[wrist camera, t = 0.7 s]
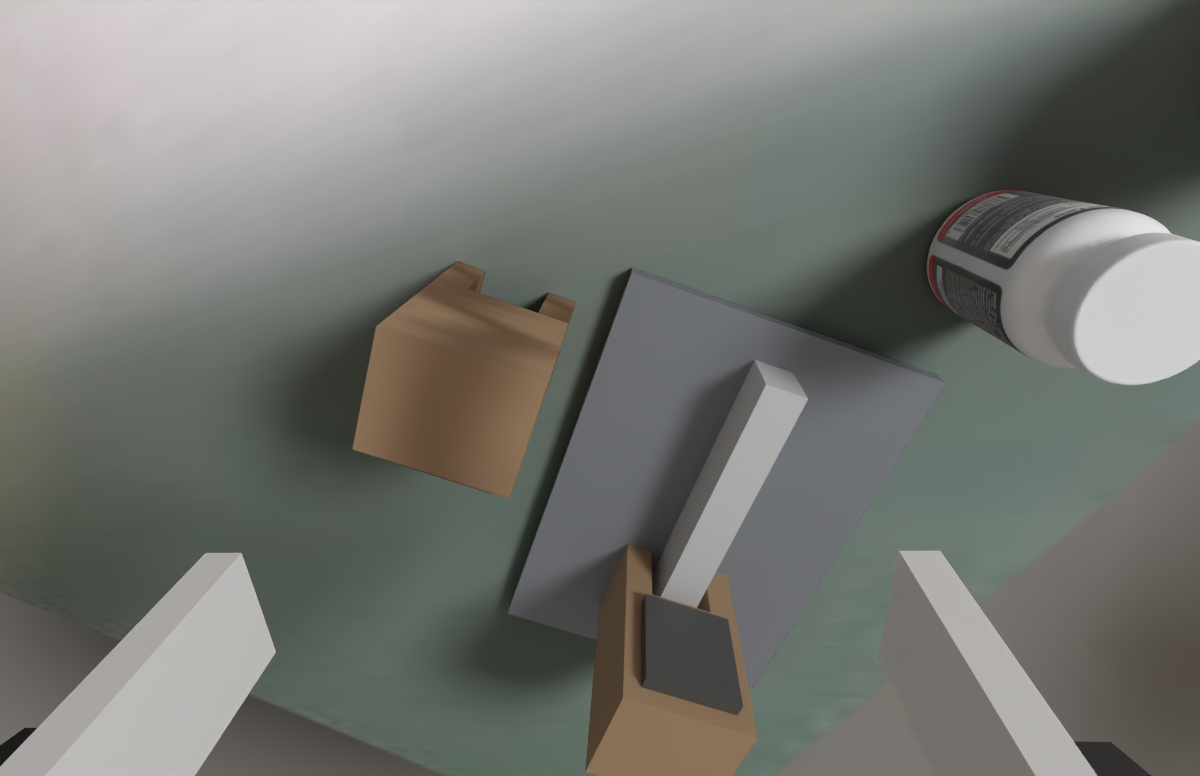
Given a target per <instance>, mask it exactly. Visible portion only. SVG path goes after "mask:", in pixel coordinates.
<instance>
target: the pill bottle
mask: <svg viewBox="0 0 1200 776" xmlns="http://www.w3.org/2000/svg"><path fill="white" fill-rule="evenodd" d="M927 275H928V280H929V283H930V286H931V288H932V290H933V292H934V294H935V295H936V297H937V298H938V299H939V301H940V302H941V303H942V304H943V305H945V306H946V307H947V308H948V309H949V310H951V311H953V312H954V313H956V314H958V315H960V316H961V317H963V318H964V319H966V320H968V321H969V322H971V323H973V324H974V325H976V326H978V327H979V328H981V329H983V330H984V331H986V332H988V333H989V334H991V335H993V336H994V337H996V338H998V339H999V340H1001V341H1003V342H1004V343H1006V344H1008V345H1009V346H1011V347H1013V348H1014V349H1016V350H1018V351H1019V352H1021V353H1022V354H1024V355H1026V356H1028V357H1029V358H1032V359H1034V360H1036V361H1038V362H1040V363H1043V364H1046V365H1049V366H1053V367H1059V368H1069V369H1075V368H1079V369H1081V370H1083V371H1085V372H1087V373H1089V374H1091V375H1093V376H1095V377H1097V378H1099V379H1101V380H1104V381H1107V382H1110V383H1115V384H1122V385H1140V384H1146V383H1152V382H1155V381H1159V380H1162V379H1166V378H1169V377H1171V376H1173V375H1175V374H1177V373H1179V372H1181V371H1183V370H1185V369H1187V368H1188V367H1190V366H1191V365H1193V364H1195V363H1196V362H1197V361H1198V360H1200V242H1198V241H1194V240H1191V239H1187V238H1184V237H1181V236H1178V235H1173V234H1171V233H1170V232H1169V231H1168V230H1167V229H1166V228H1165V227H1164V226H1163V225H1162V224H1161V223H1159V222H1158V221H1156V220H1154V219H1153V218H1150V217H1148V216H1146V215H1143V214H1140V213H1137V212H1133V211H1129V210H1125V209H1121V208H1114V207H1109V206H1104V205H1098V204H1092V203H1086V202H1081V201H1075V200H1070V199H1065V198H1059V197H1054V196H1048V195H1043V194H1038V193H1032V192H1027V191H1020V190H1001V191H995V192H990V193H987V194H984V195H981V196H979V197H976V198H974V199H972V200H970V201H968V202H967V203H965V204H964V205H962V206H961V207H959V208H958V209H957V210H956V211H954V212H953V213H952V214H951V215H950V216H949V217H948V218H947V219H946V221H945V222H944V223H943V224H942V226H941V227H940V229H939V230H938V232H937V233H936V235H935V237H934V239H933V241H932V244H931V246H930V249H929V253H928V258H927Z"/></svg>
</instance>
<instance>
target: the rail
mask: <svg viewBox="0 0 1200 776" xmlns="http://www.w3.org/2000/svg"><path fill="white" fill-rule="evenodd" d="M945 384H946V382H945V381H943V380H942V379H941V378H940V377H939V376H938V375H936V374H933V373H930V372H927V371H924V370H922V369H919V368H916V367H913V366H910V365H907V364H905V363H902V362H899V361H896V360H893V359H890V358H887V357H885V356H882V355H879V354H876V353H873V352H870V351H868V350H865V349H862V348H859V347H856V346H853V345H850V344H848V343H845V342H842V341H839V340H836V339H833V338H831V337H828V336H825V335H822V334H819V333H816V332H814V331H811V330H808V329H805V328H802V327H799V326H796V325H794V324H791V323H788V322H785V321H782V320H779V319H777V318H774V317H771V316H768V315H765V314H762V313H759V312H757V311H754V310H751V309H748V308H745V307H742V306H740V305H737V304H734V303H731V302H728V301H725V300H723V299H720V298H717V297H714V296H711V295H708V294H705V293H703V292H700V291H697V290H694V289H691V288H688V287H686V286H683V285H680V284H677V283H674V282H671V281H668V280H666V279H663V278H660V277H657V276H654V275H651V274H649V273H646V272H643V271H640V270H637V269H634V268H632V269H631V272H630V275H629V278H628V280H627V283H626V286H625V289H624V291H623V294H622V297H621V300H620V302H619V305H618V308H617V311H616V313H615V316H614V319H613V322H612V324H611V327H610V330H609V333H608V335H607V338H606V341H605V344H604V346H603V349H602V352H601V355H600V357H599V360H598V363H597V366H596V368H595V371H594V374H593V377H592V379H591V382H590V385H589V388H588V390H587V393H586V396H585V399H584V401H583V404H582V407H581V410H580V412H579V415H578V418H577V421H576V423H575V426H574V429H573V432H572V434H571V437H570V440H569V443H568V445H567V448H566V451H565V454H564V456H563V459H562V462H561V465H560V467H559V470H558V473H557V476H556V478H555V481H554V484H553V487H552V489H551V492H550V495H549V498H548V500H547V503H546V506H545V509H544V511H543V514H542V517H541V520H540V522H539V525H538V528H537V531H536V533H535V536H534V539H533V542H532V544H531V547H530V550H529V553H528V555H527V558H526V561H525V564H524V566H523V569H522V572H521V575H520V577H519V580H518V583H517V586H516V588H515V591H514V594H513V597H512V600H511V602H510V606H509V610H508V614H510V615H513V616H517V617H520V618H523V619H527V620H530V621H533V622H537V623H540V624H543V625H547V626H550V627H553V628H557V629H560V630H563V631H567V632H570V633H573V634H577V635H580V636H583V637H587V638H590V639H593V640H596V652H595V664H594V676H593V688H592V699H591V711H590V723H589V735H588V747H587V758H586V770H585V772H587V773H590V774H594V775H597V776H733V774H734V773H735V771H736V770H737V768H738V767H739V765H740V764H741V762H742V761H743V759H744V758H745V756H746V755H747V753H748V752H749V750H750V749H751V747H752V746H753V744H754V743H755V741H756V740H757V738H758V736H757V730H756V725H755V720H754V714H753V709H752V704H751V698H750V693H749V688H748V686H749V687H753V688H754V687H755V685H756V683H757V682H758V680H759V679H760V677H761V675H762V674H763V672H764V671H765V669H766V668H767V666H768V664H769V663H770V661H771V660H772V658H773V656H774V655H775V653H776V652H777V650H778V649H779V647H780V645H781V644H782V642H783V641H784V639H785V637H786V636H787V634H788V633H789V631H790V630H791V628H792V626H793V625H794V623H795V622H796V620H797V618H798V617H799V615H800V614H801V612H802V611H803V609H804V607H805V606H806V604H807V603H808V601H809V599H810V598H811V596H812V595H813V593H814V592H815V590H816V588H817V587H818V585H819V584H820V582H821V581H822V579H823V577H824V576H825V574H826V573H827V571H828V569H829V568H830V566H831V565H832V563H833V562H834V560H835V558H836V557H837V555H838V554H839V552H840V550H841V549H842V547H843V546H844V544H845V543H846V541H847V539H848V538H849V536H850V535H851V533H852V531H853V530H854V528H855V527H856V525H857V524H858V522H859V520H860V519H861V517H862V516H863V514H864V512H865V511H866V509H867V508H868V506H869V505H870V503H871V501H872V500H873V498H874V497H875V495H876V493H877V492H878V490H879V489H880V487H881V486H882V484H883V482H884V481H885V479H886V478H887V476H888V474H889V473H890V471H891V470H892V468H893V467H894V465H895V463H896V462H897V460H898V459H899V457H900V455H901V454H902V452H903V451H904V449H905V448H906V446H907V444H908V443H909V441H910V440H911V438H912V436H913V435H914V433H915V432H916V430H917V429H918V427H919V425H920V424H921V422H922V421H923V419H924V418H925V416H926V414H927V413H928V411H929V410H930V408H931V406H932V405H933V403H934V402H935V400H936V399H937V397H938V395H939V394H940V392H941V391H942V389H943V387H944V386H945Z"/></svg>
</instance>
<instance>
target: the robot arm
mask: <svg viewBox="0 0 1200 776" xmlns="http://www.w3.org/2000/svg"><path fill="white" fill-rule="evenodd" d="M275 653H276V651H275V648H274V645H273V642H272V639H271V636H270V634H269V631H268V628H267V625H266V622H265V619H264V616H263V613H262V610H261V608H260V605H259V602H258V599H257V596H256V593H255V590H254V587H253V585H252V582H251V579H250V576H249V573H248V570H247V567H246V564H245V561H244V559H243V556H242V553H205V554H204V555H203V556H202V557H201V558H200V559H199V561H198V562H197V563H196V564H195V565H194V566H193V567H192V568H191V569H190V570H189V571H188V572H187V573H186V574H185V575H184V576H183V577H182V578H181V579H180V580H179V581H178V582H177V583H176V584H175V585H174V586H173V588H172V589H171V590H170V591H169V592H168V593H167V594H166V595H165V596H164V597H163V598H162V599H161V600H160V601H159V602H158V603H157V604H156V605H155V606H154V607H153V608H152V609H151V610H150V611H149V612H148V614H147V615H146V616H145V617H144V618H143V619H142V620H141V621H140V622H139V623H138V624H137V625H136V626H135V627H134V628H133V629H132V630H131V631H130V632H129V633H128V634H127V635H126V636H125V637H124V638H123V640H122V641H121V642H120V643H119V644H118V645H117V646H116V647H115V648H114V649H113V650H112V651H111V652H110V653H109V654H108V655H107V656H106V657H105V658H104V659H103V660H102V661H101V662H100V663H99V665H98V666H97V667H96V668H95V669H94V670H93V671H92V672H91V673H90V674H89V675H88V676H87V677H86V678H85V679H84V680H83V681H82V682H81V683H80V684H79V685H78V686H77V688H75V689H74V691H73V692H72V693H71V694H70V695H69V696H68V697H67V698H66V699H65V700H64V701H63V702H62V703H61V704H60V705H59V706H58V707H57V708H56V709H55V710H54V711H53V712H52V713H51V714H50V715H49V717H48V718H47V719H46V720H45V721H44V722H43V723H42V724H41V725H40V726H39V727H38V728H24V729H23V730H21V731H20V732H19V733H17V734H16V735H14V736H13V737H11V738H10V739H9V740H7V741H6V742H5V743H3V744H2V745H0V776H195V775H196V773H197V772H198V770H199V768H200V767H201V765H202V764H203V762H204V761H205V759H206V758H207V756H208V755H209V753H210V752H211V750H212V749H213V747H214V746H215V744H216V743H217V741H218V740H219V738H220V737H221V735H222V734H223V732H224V730H225V729H226V727H227V726H228V724H229V723H230V721H231V720H232V718H233V717H234V715H235V714H236V712H237V711H238V709H239V707H240V706H241V705H242V703H243V702H244V700H245V698H246V697H247V695H248V694H249V692H250V691H251V689H252V688H253V686H254V685H255V683H256V682H257V680H258V679H259V677H260V676H261V674H262V673H263V671H264V670H265V668H266V667H267V665H268V663H269V662H270V660H271V659H272V657H273V656H274V654H275ZM879 658H880V660H881V662H882V665H883V667H884V669H885V671H886V674H887V676H888V678H889V680H890V682H891V685H892V687H893V689H894V691H895V693H896V696H897V698H898V700H899V702H900V705H901V707H902V709H903V711H904V713H905V716H906V718H907V720H908V722H909V724H910V726H911V729H912V731H913V733H914V735H915V738H916V740H917V742H918V744H919V747H920V749H921V751H922V753H923V755H924V757H925V760H926V762H927V764H928V766H929V769H930V771H931V773H932V775H933V776H1151V775H1150V774H1148V773H1147V772H1146V771H1145V770H1144V769H1142V768H1141V767H1140V766H1139V765H1138V764H1136V763H1135V762H1134V761H1133V760H1132V759H1130V758H1129V757H1128V756H1127V755H1126V754H1124V753H1123V752H1122V751H1121V750H1120V749H1118V748H1117V747H1116V746H1115V745H1114V744H1112V743H1111V742H1074V741H1073V740H1072V738H1071V737H1070V736H1069V734H1068V733H1067V731H1066V730H1065V729H1064V727H1063V726H1062V725H1061V723H1060V721H1059V720H1058V718H1057V717H1056V716H1055V714H1054V713H1053V711H1052V710H1051V708H1050V707H1049V706H1048V704H1047V703H1046V702H1045V700H1044V699H1043V697H1042V696H1041V694H1040V693H1039V691H1038V690H1037V689H1036V687H1035V686H1034V684H1033V683H1032V682H1031V680H1030V678H1029V677H1028V676H1027V674H1026V673H1025V671H1024V670H1023V668H1022V667H1021V666H1020V664H1019V663H1018V661H1017V660H1016V659H1015V657H1014V656H1013V654H1012V653H1011V651H1010V650H1009V649H1008V647H1007V646H1006V644H1005V643H1004V641H1003V640H1002V638H1001V637H1000V636H999V634H998V633H997V631H996V630H995V629H994V627H993V626H992V624H991V623H990V621H989V620H988V619H987V617H986V616H985V614H984V613H983V611H982V610H981V608H980V607H979V606H978V604H977V603H976V601H975V600H974V598H973V597H972V596H971V594H970V593H969V591H968V590H967V588H966V587H965V586H964V584H963V583H962V581H961V580H960V578H959V577H958V576H957V574H956V573H955V571H954V570H953V568H952V567H951V566H950V564H949V563H948V561H947V560H946V558H945V557H944V556H943V554H942V553H941V551H899V554H898V560H897V565H896V570H895V575H894V580H893V585H892V591H891V596H890V601H889V606H888V611H887V616H886V621H885V627H884V632H883V637H882V642H881V647H880V652H879Z"/></svg>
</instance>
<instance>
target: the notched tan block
mask: <svg viewBox="0 0 1200 776" xmlns="http://www.w3.org/2000/svg"><path fill="white" fill-rule="evenodd" d="M484 275H485V270H482V269H479V268H476V267H473V266H470V265H467V264H464V263H461V262H458V261H457V262H456V263H455V264H454V265H452V266H451V267H450V268H449V269H447V270H446V271H445V272H443V273H442V274H441V275H440V276H438V277H437V278H436V279H435V280H433V281H432V282H431V283H430V284H428V285H427V286H426V287H425V288H423V289H422V290H421V291H420V292H418V293H417V294H416V295H415V296H413V297H412V298H411V299H410V300H408V301H407V302H406V303H405V304H403V305H402V306H401V307H400V308H398V309H397V310H396V311H395V312H393V313H392V314H391V315H390V316H388V317H387V318H386V319H385V320H383V321H382V322H381V323H380V324H378V325H377V326H376V329H375V335H374V340H373V345H372V350H371V355H370V360H369V366H368V371H367V376H366V381H365V386H364V391H363V396H362V402H361V407H360V412H359V417H358V422H357V427H356V433H355V438H354V443H353V448H352V449H353V450H356V451H359V452H362V453H366V454H369V455H372V456H375V457H378V458H380V459H383V460H386V461H389V462H393V463H396V464H399V465H402V466H405V467H408V468H412V469H415V470H418V471H421V472H424V473H427V474H431V475H434V476H437V477H440V478H443V479H446V480H450V481H453V482H456V483H459V484H462V485H465V486H469V487H472V488H475V489H478V490H481V491H484V492H488V493H492V494H495V495H499V496H502V497H505V498H508V499H510V496H511V493H512V490H513V487H514V484H515V481H516V478H517V476H518V473H519V470H520V467H521V464H522V461H523V458H524V455H525V452H526V449H527V446H528V443H529V441H530V438H531V435H532V432H533V429H534V426H535V423H536V420H537V417H538V414H539V411H540V408H541V406H542V403H543V400H544V397H545V394H546V391H547V388H548V385H549V382H550V379H551V376H552V373H553V370H554V367H555V364H556V361H557V358H558V355H559V352H560V349H561V346H562V343H563V340H564V337H565V334H566V331H567V328H568V325H569V322H570V319H571V316H572V313H573V310H574V307H575V304H576V302H575V301H572V300H569V299H566V298H563V297H560V296H557V295H554V294H551V293H548V295H547V297H546V299H545V301H544V303H543V305H542V307H541V309H540V310H539V312H538V313H536V312H533V311H530V310H528V309H525V308H522V307H519V306H516V305H513V304H510V303H507V302H504V301H501V300H498V299H495V298H492V297H489V296H487V295H484V294H481V293H480V290H481V286H482V283H483V279H484Z"/></svg>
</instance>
